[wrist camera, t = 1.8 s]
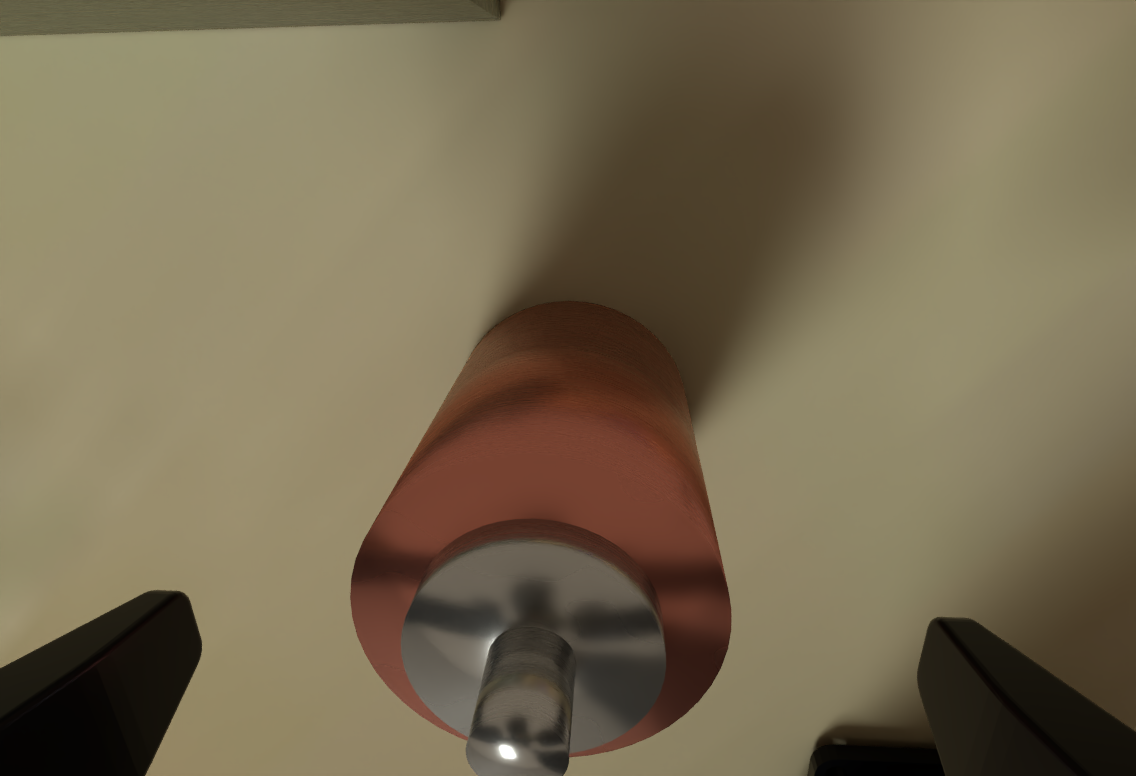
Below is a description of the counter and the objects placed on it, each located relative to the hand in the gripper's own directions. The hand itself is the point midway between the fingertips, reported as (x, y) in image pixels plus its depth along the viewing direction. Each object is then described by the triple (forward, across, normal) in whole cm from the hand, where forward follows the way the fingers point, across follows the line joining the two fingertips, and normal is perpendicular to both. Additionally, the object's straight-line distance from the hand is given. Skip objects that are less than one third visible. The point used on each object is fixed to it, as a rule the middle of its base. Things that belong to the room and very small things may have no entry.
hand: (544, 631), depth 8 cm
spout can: (+6, 0, 0) cm, 6 cm away
